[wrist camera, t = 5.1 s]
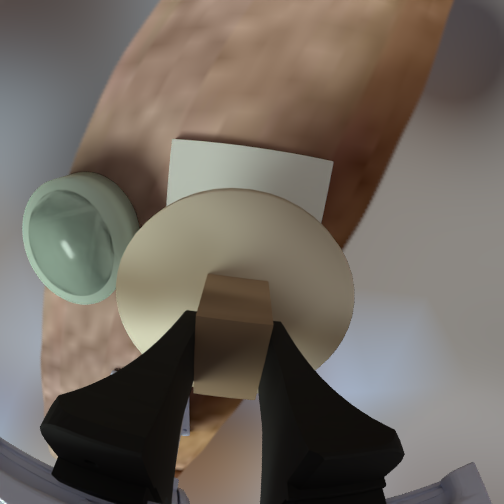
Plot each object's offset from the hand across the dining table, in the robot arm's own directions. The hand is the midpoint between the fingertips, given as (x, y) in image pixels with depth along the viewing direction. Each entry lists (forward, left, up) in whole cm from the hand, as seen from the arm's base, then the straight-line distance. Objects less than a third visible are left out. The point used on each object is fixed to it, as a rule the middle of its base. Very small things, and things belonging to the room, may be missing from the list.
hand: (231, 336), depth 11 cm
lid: (0, 0, -2) cm, 2 cm away
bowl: (0, +12, -9) cm, 15 cm away
